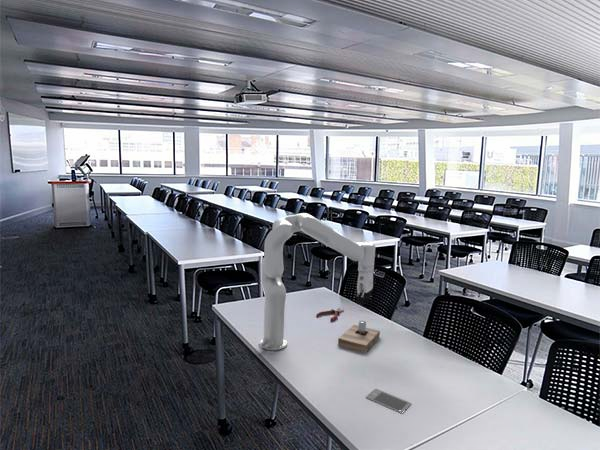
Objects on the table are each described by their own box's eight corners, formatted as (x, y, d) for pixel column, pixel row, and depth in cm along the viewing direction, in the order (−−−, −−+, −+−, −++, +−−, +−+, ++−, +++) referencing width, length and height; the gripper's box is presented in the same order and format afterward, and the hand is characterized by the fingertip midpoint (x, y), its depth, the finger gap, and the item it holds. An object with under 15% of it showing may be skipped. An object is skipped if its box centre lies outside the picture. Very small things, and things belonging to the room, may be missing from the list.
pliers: (350, 313, 240) (350, 308, 239) (332, 323, 224) (332, 318, 223) (334, 308, 246) (334, 304, 246) (315, 317, 230) (315, 313, 230)
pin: (363, 341, 201) (364, 324, 200) (356, 339, 203) (357, 322, 201) (366, 338, 204) (367, 321, 203) (359, 336, 206) (360, 320, 205)
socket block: (365, 352, 189) (365, 345, 188) (338, 345, 196) (338, 338, 195) (379, 337, 206) (379, 330, 206) (353, 330, 213) (354, 324, 212)
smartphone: (411, 404, 150) (412, 403, 150) (402, 415, 144) (402, 413, 143) (375, 389, 159) (375, 388, 159) (365, 398, 153) (365, 397, 153)
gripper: (367, 273, 189) (364, 308, 191) (379, 265, 203) (376, 298, 206) (352, 270, 192) (349, 305, 195) (364, 263, 207) (362, 295, 210)
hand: (363, 301), depth 200 cm, fingers open, 9 cm apart
